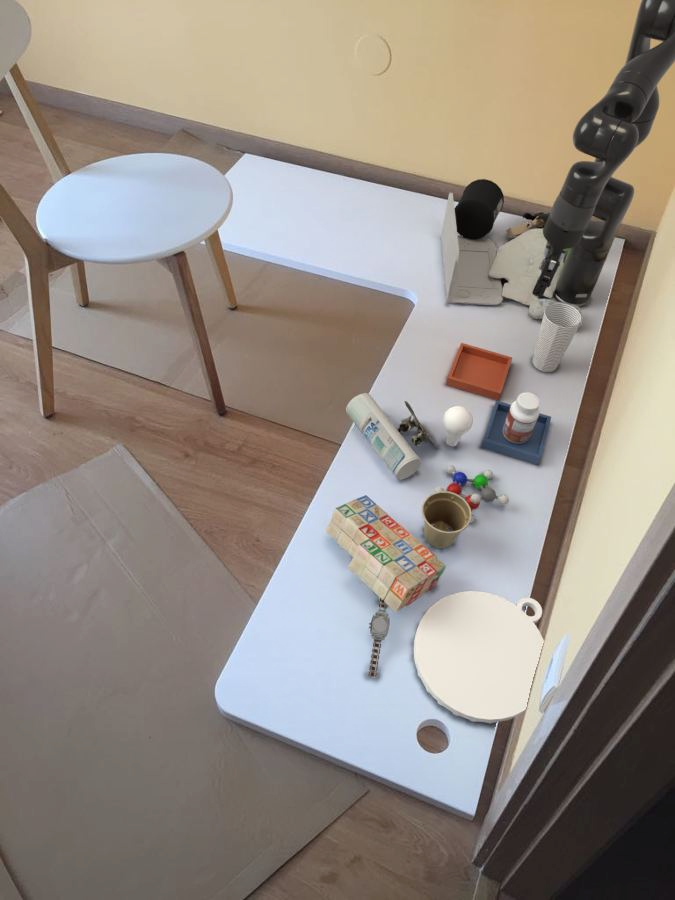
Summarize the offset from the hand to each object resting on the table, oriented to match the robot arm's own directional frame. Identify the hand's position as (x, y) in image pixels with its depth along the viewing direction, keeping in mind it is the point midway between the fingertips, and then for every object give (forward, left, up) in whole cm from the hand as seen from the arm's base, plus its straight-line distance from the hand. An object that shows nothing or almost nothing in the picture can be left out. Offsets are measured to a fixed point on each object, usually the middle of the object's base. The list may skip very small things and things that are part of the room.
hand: (540, 282), depth 154 cm
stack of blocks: (+55, -10, -25) cm, 61 cm away
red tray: (+3, -7, -27) cm, 28 cm away
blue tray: (+18, +5, -27) cm, 33 cm away
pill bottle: (+18, +5, -27) cm, 33 cm away
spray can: (+39, -14, -24) cm, 48 cm away
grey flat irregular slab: (-24, -4, -25) cm, 35 cm away
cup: (-7, +7, -27) cm, 29 cm away
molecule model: (+32, -4, -27) cm, 42 cm away
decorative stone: (-23, +6, -27) cm, 36 cm away
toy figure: (-51, -11, -23) cm, 57 cm away
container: (-44, -22, -21) cm, 54 cm away
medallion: (+70, +11, -25) cm, 75 cm away
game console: (-33, -18, -27) cm, 47 cm away
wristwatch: (+75, -8, -27) cm, 80 cm away
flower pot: (+50, -4, -27) cm, 57 cm away
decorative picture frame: (+31, -12, -19) cm, 38 cm away
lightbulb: (+26, -7, -27) cm, 39 cm away
